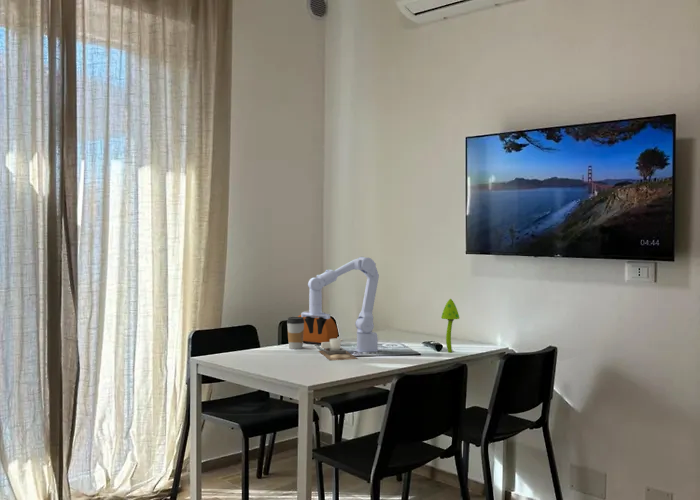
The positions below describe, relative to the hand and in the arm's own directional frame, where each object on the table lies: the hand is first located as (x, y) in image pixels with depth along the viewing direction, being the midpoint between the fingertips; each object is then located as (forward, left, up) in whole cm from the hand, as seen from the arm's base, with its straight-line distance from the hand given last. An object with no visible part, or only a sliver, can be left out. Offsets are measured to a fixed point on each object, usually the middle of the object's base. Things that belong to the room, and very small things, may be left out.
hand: (315, 333), depth 319 cm
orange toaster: (-6, -29, -10) cm, 32 cm away
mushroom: (-62, +12, -10) cm, 63 cm away
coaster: (-8, +13, -9) cm, 17 cm away
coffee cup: (+6, -14, -10) cm, 19 cm away
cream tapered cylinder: (-7, +3, -9) cm, 11 cm away
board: (-8, +8, -9) cm, 15 cm away
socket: (-8, +3, -9) cm, 12 cm away
